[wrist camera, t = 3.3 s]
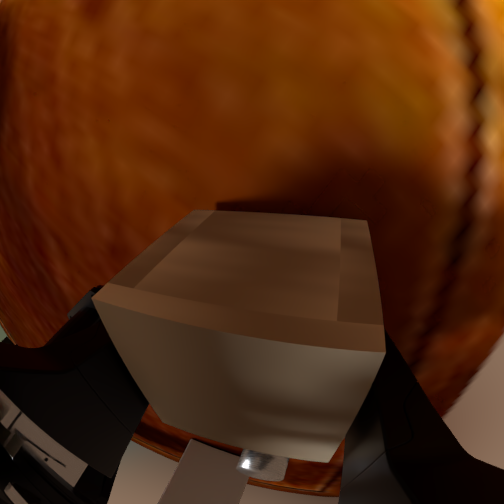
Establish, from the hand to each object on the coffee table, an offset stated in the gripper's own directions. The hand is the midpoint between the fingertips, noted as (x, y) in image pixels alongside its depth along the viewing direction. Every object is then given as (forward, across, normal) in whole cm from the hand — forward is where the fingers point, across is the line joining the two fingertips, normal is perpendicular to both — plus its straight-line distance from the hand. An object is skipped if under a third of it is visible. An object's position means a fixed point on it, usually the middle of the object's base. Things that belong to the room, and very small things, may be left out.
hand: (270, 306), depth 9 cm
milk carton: (+2, +6, +26) cm, 27 cm away
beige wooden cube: (+1, 0, 0) cm, 1 cm away
